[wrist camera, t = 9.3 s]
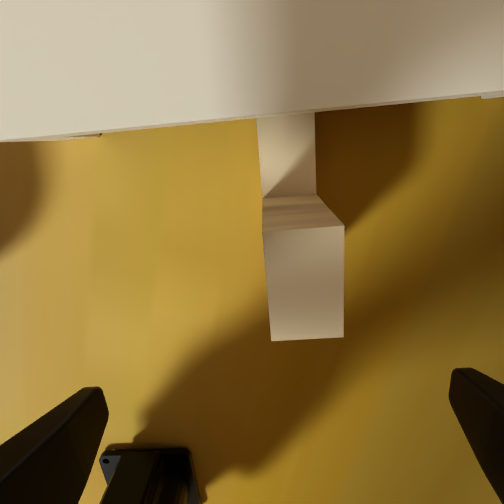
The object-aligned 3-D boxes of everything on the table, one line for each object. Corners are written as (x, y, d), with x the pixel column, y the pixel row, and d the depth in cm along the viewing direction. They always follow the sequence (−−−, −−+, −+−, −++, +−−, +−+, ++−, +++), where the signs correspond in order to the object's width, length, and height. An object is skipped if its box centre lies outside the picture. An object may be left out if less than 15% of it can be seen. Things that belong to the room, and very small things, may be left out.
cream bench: (527, 94, 15) (653, 75, 10) (60, 140, 16) (-25, 142, 11) (557, -76, 12) (735, -202, 8) (20, -7, 14) (-105, -79, 9)
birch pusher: (364, 258, 18) (425, 332, 11) (219, 268, 18) (194, 345, 11) (374, -78, 13) (495, -307, 6) (176, -51, 13) (89, -237, 7)
